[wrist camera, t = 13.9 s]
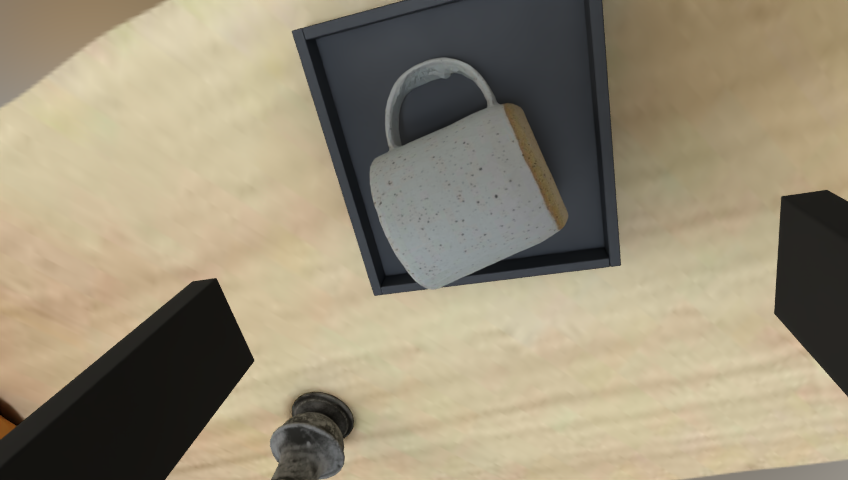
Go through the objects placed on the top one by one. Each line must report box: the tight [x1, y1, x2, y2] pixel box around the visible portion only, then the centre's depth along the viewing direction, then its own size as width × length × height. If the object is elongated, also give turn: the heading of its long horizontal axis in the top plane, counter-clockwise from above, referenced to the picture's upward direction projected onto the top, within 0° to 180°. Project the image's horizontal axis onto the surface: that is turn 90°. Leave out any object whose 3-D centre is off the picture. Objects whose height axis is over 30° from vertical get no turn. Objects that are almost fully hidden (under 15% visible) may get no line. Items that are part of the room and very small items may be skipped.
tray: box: [292, 0, 621, 296], centre depth 27 cm, size 15×16×2 cm
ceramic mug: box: [370, 57, 568, 289], centre depth 24 cm, size 11×8×8 cm
